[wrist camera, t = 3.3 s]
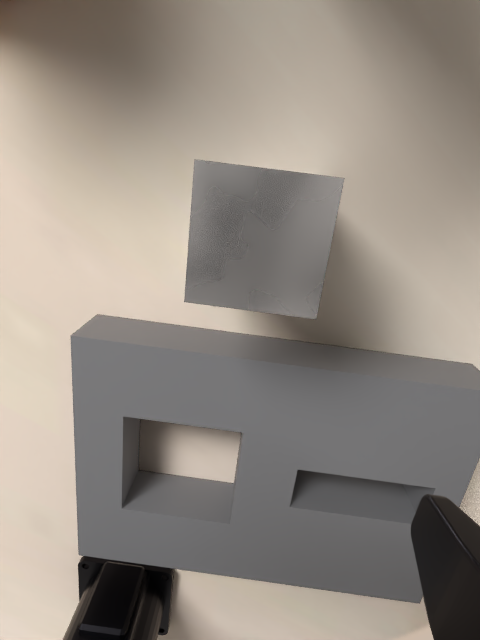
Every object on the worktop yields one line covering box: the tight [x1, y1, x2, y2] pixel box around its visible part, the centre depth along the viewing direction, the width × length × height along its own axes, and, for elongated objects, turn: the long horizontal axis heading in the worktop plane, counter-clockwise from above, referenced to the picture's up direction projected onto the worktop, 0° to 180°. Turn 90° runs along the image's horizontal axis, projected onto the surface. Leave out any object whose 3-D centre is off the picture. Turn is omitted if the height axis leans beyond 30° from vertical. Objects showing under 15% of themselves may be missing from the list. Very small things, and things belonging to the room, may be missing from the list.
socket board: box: [71, 314, 480, 604], centre depth 21 cm, size 14×20×3 cm
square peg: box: [184, 159, 344, 319], centre depth 15 cm, size 4×4×8 cm
